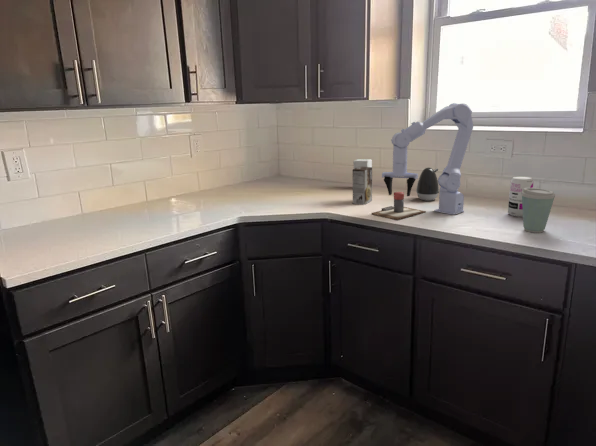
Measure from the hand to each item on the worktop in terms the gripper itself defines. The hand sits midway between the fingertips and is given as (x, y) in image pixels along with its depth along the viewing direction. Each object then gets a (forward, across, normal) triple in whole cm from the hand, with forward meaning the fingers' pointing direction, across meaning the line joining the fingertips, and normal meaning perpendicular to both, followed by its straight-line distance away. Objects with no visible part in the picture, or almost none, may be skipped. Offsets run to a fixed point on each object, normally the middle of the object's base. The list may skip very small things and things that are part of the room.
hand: (399, 195), depth 195 cm
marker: (+7, 0, 0) cm, 7 cm away
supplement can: (+8, -45, -14) cm, 48 cm away
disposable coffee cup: (+8, -51, +8) cm, 53 cm away
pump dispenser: (+8, -5, -30) cm, 32 cm away
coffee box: (+8, +22, -15) cm, 28 cm away
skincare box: (+8, +32, -47) cm, 57 cm away
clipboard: (+8, 0, 0) cm, 8 cm away
